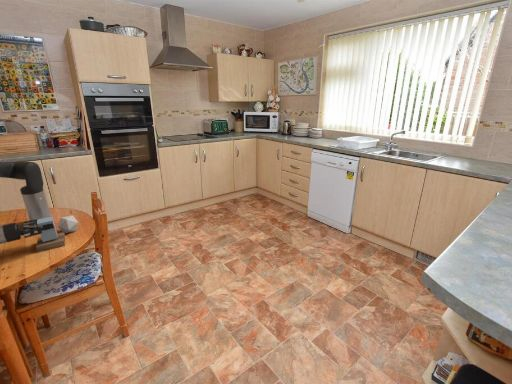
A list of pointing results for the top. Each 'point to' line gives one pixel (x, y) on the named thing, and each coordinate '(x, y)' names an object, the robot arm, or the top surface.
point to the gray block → (49, 233)
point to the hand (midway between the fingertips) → (53, 223)
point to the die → (68, 224)
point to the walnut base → (51, 243)
